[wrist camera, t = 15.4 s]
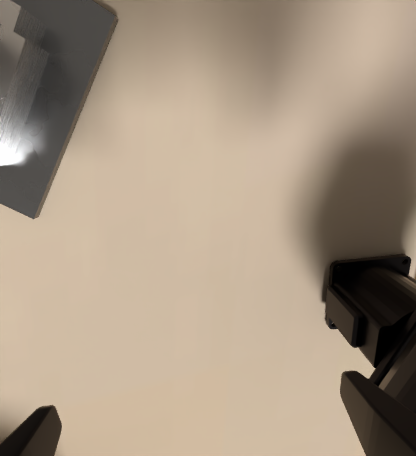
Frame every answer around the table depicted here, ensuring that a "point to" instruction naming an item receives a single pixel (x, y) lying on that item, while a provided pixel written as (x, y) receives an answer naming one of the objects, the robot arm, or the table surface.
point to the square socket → (44, 89)
